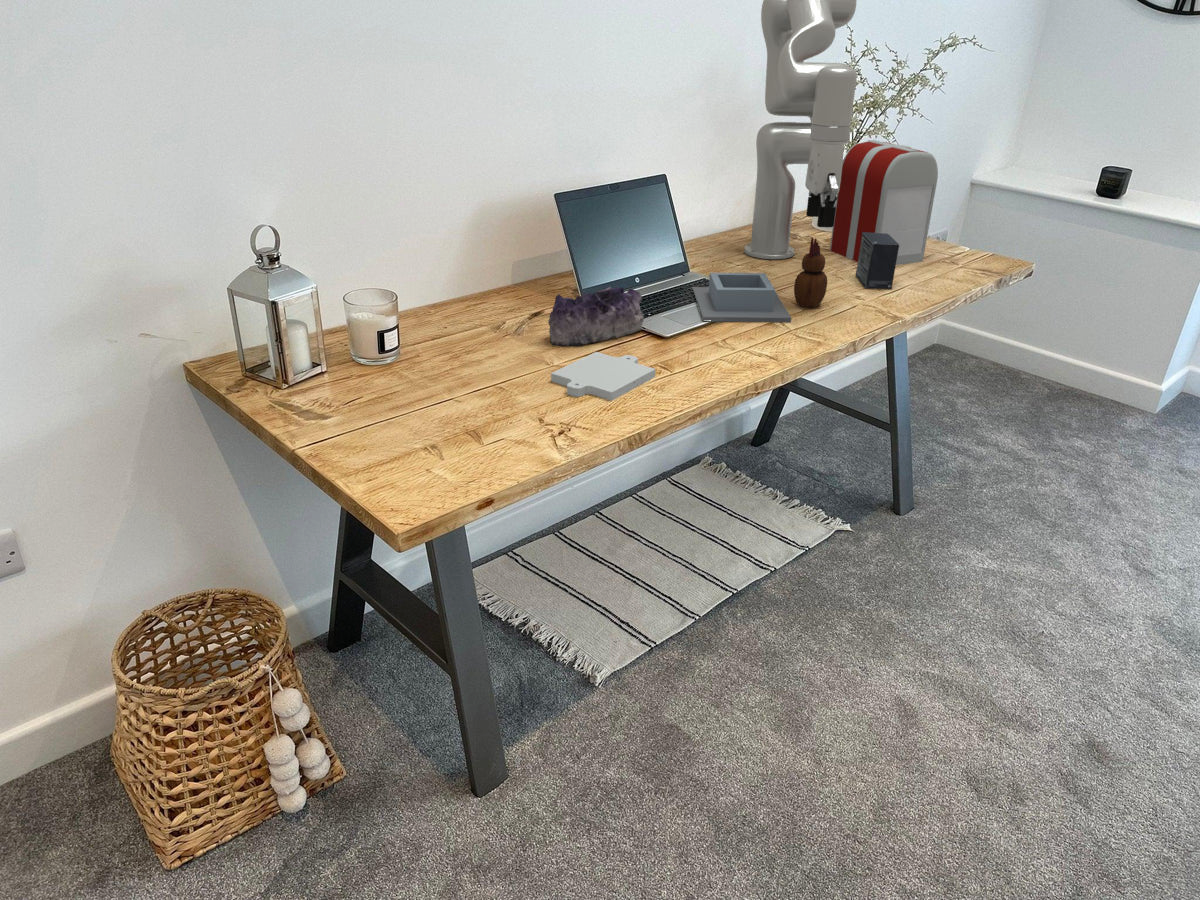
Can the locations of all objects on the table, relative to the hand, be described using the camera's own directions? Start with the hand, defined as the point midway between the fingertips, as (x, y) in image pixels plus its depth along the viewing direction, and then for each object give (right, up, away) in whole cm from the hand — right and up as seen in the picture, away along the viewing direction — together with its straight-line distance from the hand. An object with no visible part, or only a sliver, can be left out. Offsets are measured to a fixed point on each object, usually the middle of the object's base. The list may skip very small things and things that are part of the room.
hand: (819, 221), depth 190 cm
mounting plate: (-44, -35, -28) cm, 63 cm away
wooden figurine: (0, -16, +9) cm, 18 cm away
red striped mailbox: (+25, +2, +45) cm, 52 cm away
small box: (+18, -8, +24) cm, 32 cm away
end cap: (-15, -16, +8) cm, 24 cm away
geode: (-46, -25, -9) cm, 53 cm away
